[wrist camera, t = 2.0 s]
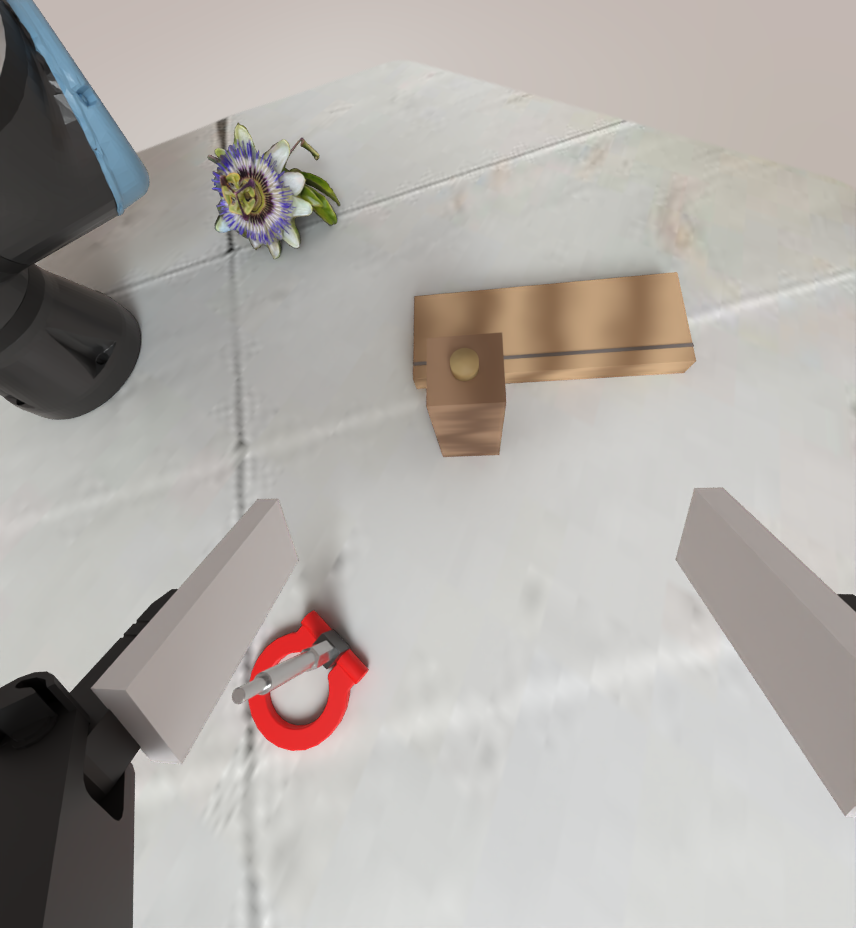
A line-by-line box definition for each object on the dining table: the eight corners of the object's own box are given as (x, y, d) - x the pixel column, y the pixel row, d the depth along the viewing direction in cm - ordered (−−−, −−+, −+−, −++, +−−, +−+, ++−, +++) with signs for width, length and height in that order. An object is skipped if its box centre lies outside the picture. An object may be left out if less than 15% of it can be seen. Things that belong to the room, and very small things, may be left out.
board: (416, 388, 37) (412, 378, 35) (417, 309, 40) (414, 295, 38) (684, 372, 34) (696, 360, 32) (667, 288, 37) (677, 271, 35)
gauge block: (443, 456, 35) (424, 399, 24) (442, 406, 36) (424, 329, 25) (499, 454, 34) (507, 394, 23) (496, 403, 36) (502, 322, 24)
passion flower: (300, 286, 50) (196, 245, 41) (295, 208, 51) (194, 151, 42) (354, 241, 42) (242, 179, 33) (347, 151, 43) (237, 68, 34)
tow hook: (302, 770, 30) (380, 675, 31) (166, 914, 18) (302, 751, 18) (237, 686, 33) (311, 600, 33) (78, 763, 20) (201, 623, 21)
